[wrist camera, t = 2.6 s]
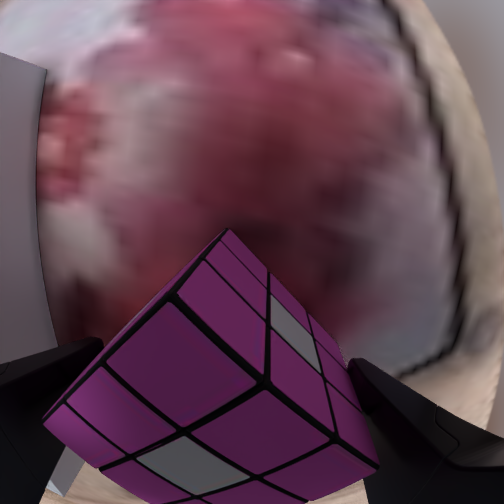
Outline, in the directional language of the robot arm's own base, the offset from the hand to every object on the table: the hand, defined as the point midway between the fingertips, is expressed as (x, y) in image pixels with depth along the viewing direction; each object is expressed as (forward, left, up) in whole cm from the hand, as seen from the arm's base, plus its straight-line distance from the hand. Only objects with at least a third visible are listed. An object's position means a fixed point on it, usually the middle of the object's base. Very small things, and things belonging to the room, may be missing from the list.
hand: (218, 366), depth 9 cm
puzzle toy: (0, 0, -2) cm, 2 cm away
